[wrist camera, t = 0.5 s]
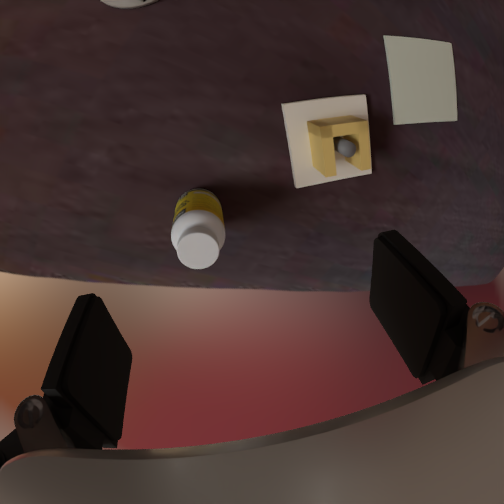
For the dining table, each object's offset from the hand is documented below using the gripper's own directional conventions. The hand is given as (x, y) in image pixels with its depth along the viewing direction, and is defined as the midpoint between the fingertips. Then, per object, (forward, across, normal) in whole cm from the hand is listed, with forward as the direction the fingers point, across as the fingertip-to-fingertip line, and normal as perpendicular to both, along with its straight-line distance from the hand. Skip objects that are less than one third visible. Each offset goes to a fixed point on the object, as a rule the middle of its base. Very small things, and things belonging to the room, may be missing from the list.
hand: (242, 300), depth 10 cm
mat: (+33, -33, -6) cm, 47 cm away
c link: (+32, -16, +3) cm, 36 cm away
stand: (+33, -16, +3) cm, 37 cm away
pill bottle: (+33, +4, +10) cm, 35 cm away
